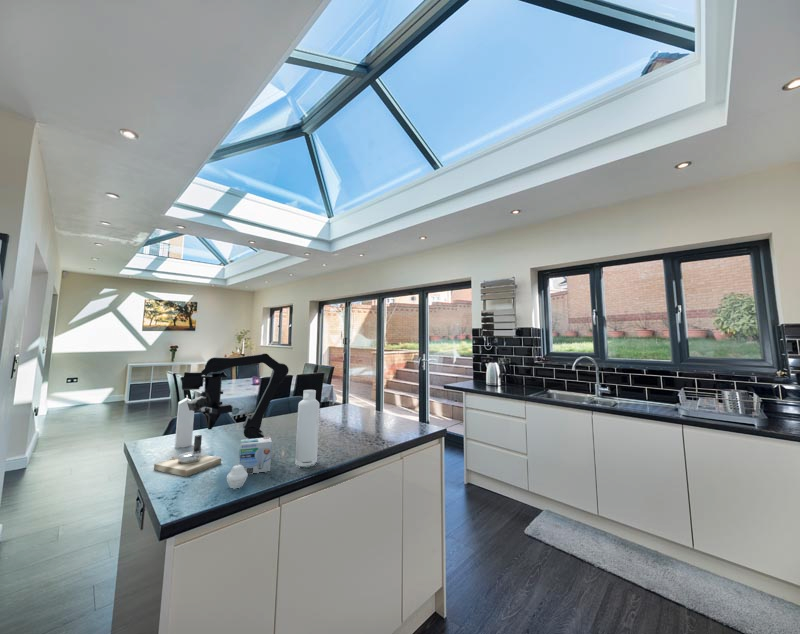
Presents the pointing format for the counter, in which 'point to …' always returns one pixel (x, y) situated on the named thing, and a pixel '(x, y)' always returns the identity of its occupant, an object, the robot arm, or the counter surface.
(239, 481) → the muffin
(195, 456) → the capstan dial
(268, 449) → the light bulb box
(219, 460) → the dial base plate
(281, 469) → the counter surface
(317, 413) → the bottle
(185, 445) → the milk
